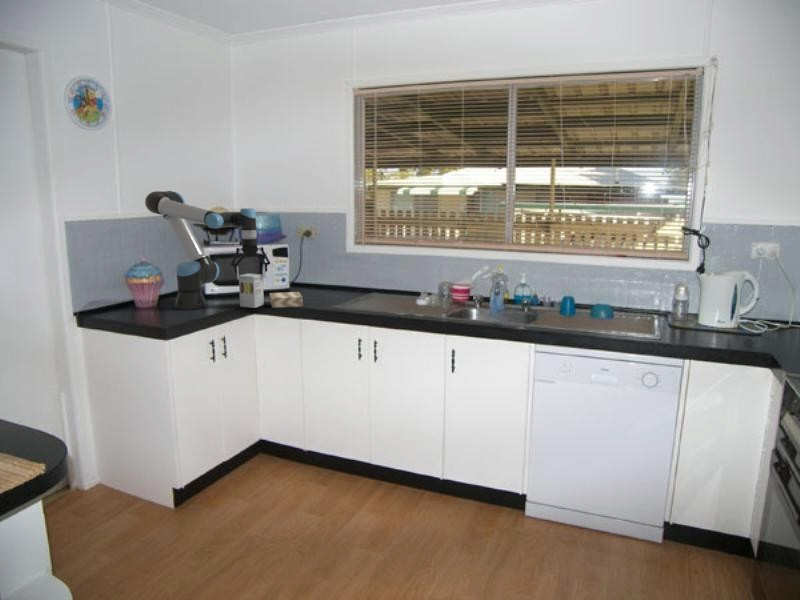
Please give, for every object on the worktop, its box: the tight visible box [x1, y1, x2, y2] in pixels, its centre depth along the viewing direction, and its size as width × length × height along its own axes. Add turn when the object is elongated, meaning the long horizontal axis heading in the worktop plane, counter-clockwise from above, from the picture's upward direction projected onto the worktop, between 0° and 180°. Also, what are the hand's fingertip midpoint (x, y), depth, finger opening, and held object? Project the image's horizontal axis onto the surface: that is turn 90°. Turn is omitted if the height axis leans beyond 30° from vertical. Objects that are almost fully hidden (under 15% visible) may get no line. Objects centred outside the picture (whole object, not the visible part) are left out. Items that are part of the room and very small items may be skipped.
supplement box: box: [238, 273, 265, 309], centre depth 300 cm, size 10×9×17 cm
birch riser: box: [269, 291, 304, 309], centre depth 307 cm, size 16×16×5 cm
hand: (251, 278), depth 299 cm, fingers open, 13 cm apart
